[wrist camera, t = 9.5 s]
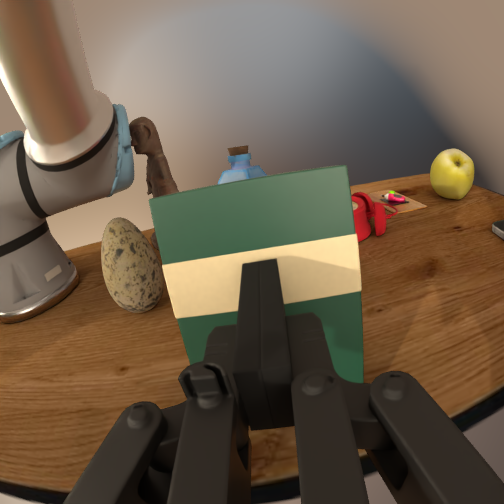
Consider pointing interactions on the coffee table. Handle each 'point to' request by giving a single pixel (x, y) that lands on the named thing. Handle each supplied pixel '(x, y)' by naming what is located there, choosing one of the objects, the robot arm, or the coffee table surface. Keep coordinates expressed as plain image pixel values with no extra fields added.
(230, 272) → the tea packet
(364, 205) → the alarm clock
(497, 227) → the phone
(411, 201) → the board
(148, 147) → the figurine
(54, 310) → the coffee table surface
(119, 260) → the decorative egg
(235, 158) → the perfume bottle
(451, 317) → the coffee table surface
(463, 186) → the apple
